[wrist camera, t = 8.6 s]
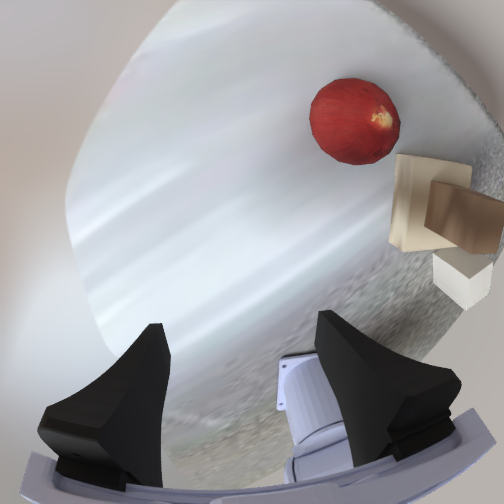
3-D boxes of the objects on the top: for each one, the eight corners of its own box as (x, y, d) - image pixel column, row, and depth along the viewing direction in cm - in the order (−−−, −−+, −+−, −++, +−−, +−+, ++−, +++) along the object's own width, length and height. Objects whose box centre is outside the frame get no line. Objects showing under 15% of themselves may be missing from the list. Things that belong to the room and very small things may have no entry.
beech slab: (443, 235, 24) (460, 246, 21) (385, 239, 23) (403, 252, 21) (451, 161, 21) (472, 166, 18) (393, 152, 20) (413, 156, 18)
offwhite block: (456, 268, 26) (489, 293, 20) (433, 283, 26) (465, 311, 20) (456, 239, 24) (493, 261, 19) (432, 253, 24) (469, 279, 19)
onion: (369, 99, 18) (435, 89, 11) (360, 166, 20) (423, 184, 13) (301, 80, 17) (346, 50, 10) (291, 152, 19) (332, 160, 12)
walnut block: (452, 227, 20) (496, 253, 15) (423, 226, 20) (470, 254, 15) (459, 185, 19) (507, 203, 13) (430, 180, 18) (482, 198, 13)
